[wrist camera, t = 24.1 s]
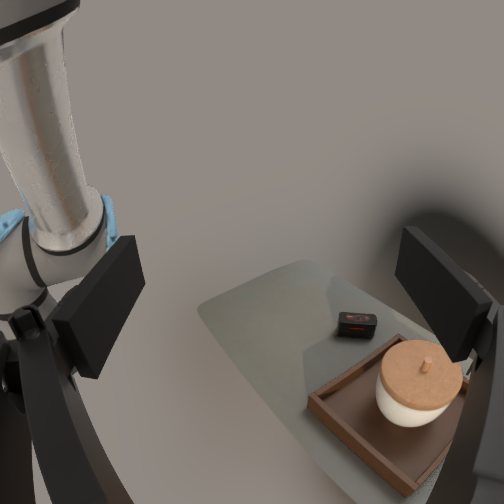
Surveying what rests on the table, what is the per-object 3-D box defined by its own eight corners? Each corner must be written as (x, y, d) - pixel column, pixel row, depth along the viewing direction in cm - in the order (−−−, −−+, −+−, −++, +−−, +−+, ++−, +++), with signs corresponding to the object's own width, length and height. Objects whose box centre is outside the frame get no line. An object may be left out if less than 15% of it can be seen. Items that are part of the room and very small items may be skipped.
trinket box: (404, 456, 25) (435, 413, 21) (350, 403, 34) (365, 354, 30) (453, 408, 30) (482, 360, 26) (402, 367, 38) (420, 318, 34)
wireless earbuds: (378, 340, 45) (382, 325, 44) (336, 337, 47) (338, 322, 46) (376, 322, 49) (379, 308, 48) (337, 319, 51) (339, 305, 50)
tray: (405, 498, 21) (415, 490, 20) (306, 407, 35) (308, 394, 34) (480, 405, 29) (489, 393, 28) (394, 346, 44) (398, 333, 42)
